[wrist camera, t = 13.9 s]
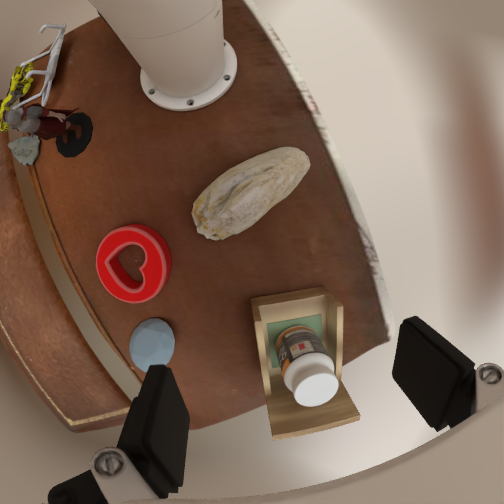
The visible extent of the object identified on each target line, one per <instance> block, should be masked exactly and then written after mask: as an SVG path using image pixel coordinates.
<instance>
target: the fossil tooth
mask: <svg viewBox="0 0 504 504" xmlns="http://www.w3.org/2000/svg"><path fill="white" fill-rule="evenodd" d="M309 168H310V161H309V158H308V156H307V155H306V154H305V153H304V152H303V151H300V149H297V148H293V147H282V148H277V149H274V150H271V151H268V152H266V153H263V154H260V155H257V156H255V157H253V158H251V159H248V160H246V161H245V162H243V163H241V164H238V165H237V166H235V167H233V168H231V169H229V170H227V171H226V172H225V173H224V174H222V175H221V176H219V177H218V178H217V179H216V180H215V181H214V182H212V183H211V184H210V185H209V186H208V187H207V188H206V189H205V190H204V191H203V192H202V193H201V194H200V195H199V197H198V198H197V199H196V200H195V202H194V203H193V205H194V207H193V210H192V213H191V214H192V217H193V219H194V223H195V225H196V226H197V233H200V234H203V235H205V237H206V238H207V239H208V238H211V239H213V240H218V239H222V240H223V239H225V238H227V237H229V236H230V235H232V234H238V233H240V232H242V231H244V230H245V229H247V228H249V227H250V226H252V225H253V224H254V223H255V222H256V221H258V220H259V219H260V218H261V217H262V216H263V215H264V214H265V213H266V212H268V210H269V209H271V208H272V207H273V206H274V205H275V204H277V203H278V202H280V201H281V200H283V199H284V198H286V197H287V196H288V195H289V194H290V193H291V192H292V191H293V189H294V188H296V187H297V185H298V184H299V182H300V181H301V180H302V178H303V177H304V175H305V174H306V173H307V171H308V169H309Z"/></svg>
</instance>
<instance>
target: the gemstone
mask: <svg viewBox="0 0 504 504" xmlns="http://www.w3.org/2000/svg"><path fill="white" fill-rule="evenodd" d="M174 344H175V339H174V335H173V332H172V329H171V328H170V327H169V325H168V324H167V323H166V322H164V321H162V320H160V319H158V318H150V319H147V320H145V321H143V322H141V323H140V324H139V325H138V326H137V328H136V329H135V330H134V332H133V334H132V336H131V339H130V347H129V350H130V355H131V359H132V360H133V362H134V364H135V365H136V366H137V367H138V368H140V369H141V370H142V371H145V372H147V371H148V368H149V366H150V365H157V364H165V365H166V364H167V363H168V362H169V361H170V359H171V357H172V354H173V352H174Z"/></svg>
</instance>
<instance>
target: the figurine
mask: <svg viewBox="0 0 504 504" xmlns="http://www.w3.org/2000/svg"><path fill="white" fill-rule="evenodd" d="M77 109H79V108H76V109H74V110H57V109H46V108H44V107H43V106H42V105H40V104H39V103H36V104H32V105H29V106H27V107H25V108H18V109H17V110H9V111H4V113H3V120H4V121H5V122H6V123H7V124H8V125H11V126H12V129H17V130H18V131H21V132H24V133H25V134H26V136H27V137H28V138H29V136H31V134H32V136H31V140H32V139H33V137H34V139H36V137H35V136H34V134H35V135H37V136H38V137H40V138H42V139H44V140H48V139H51V138H54V137H57V138H56V145H57V149H58V152H60V153H61V154H62V155H63V156H64V157H75V156H77V155H78V154H80V153H81V152H83V151H84V150H85V148H86V146H87V145H88V143H89V142H90V140H91V135H92V130H93V126H92V123H91V119H90V117H88V116H87V115H85V114H84V113H73V112H74V111H75V110H77ZM71 113H73V114H72V115H70V114H71ZM68 115H70V116H69V117H68V118H66V116H68ZM30 132H31V134H30Z"/></svg>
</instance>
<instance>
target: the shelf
mask: <svg viewBox="0 0 504 504" xmlns="http://www.w3.org/2000/svg"><path fill="white" fill-rule="evenodd" d="M250 300H251V307H252V314H253V321H254V327H255V334H256V341H257V348H258V354H259V361H260V368H261V374H262V380H263V386H264V392H265V397H266V403H267V408H268V414H269V420H270V426H271V432H272V437H273V440H279V439H285V438H291V437H296V436H301V435H306V434H310V433H315V432H318V431H322V430H327V429H331V428H334V427H338V426H342V425H345V424H348V423H352V422H355V421H358V420H360V414H359V412H358V410H357V408H356V406H355V404H354V403H353V401H352V399H351V398H350V396H349V394H348V392H347V390H346V388H345V387H344V385H343V383H342V381H341V371H342V350H343V305H342V304H341V303H340V302H339V301H338V300H337V299H336V298H335V297H334V296H333V295H332V294H331V293H330V292H329V291H328V290H327V289H326V288H325V287H324V286H322V287H316V288H311V289H305V290H299V291H293V292H287V293H281V294H274V295H268V296H261V297H254V298H250ZM298 325H301V326H307V327H309V328H311V329H312V330H313V331H314V332H315V333H316V334H317V336H318V337H319V339H320V341H321V342H322V344H323V346H324V348H325V349H326V351H327V353H328V354H329V356H330V357H331V359H332V361H333V364H334V374H335V376H336V378H337V380H338V384H339V385H338V390H337V392H336V394H335V395H334V396H333V397H332V398H331V399H330V400H329V401H327V402H325V403H323V404H321V405H318V406H312V407H308V406H303V405H301V404H299V403H298V402H297V401H296V400H295V398H294V395H293V392H292V391H290V390H289V389H288V388H287V386H286V385H285V383H284V379H283V376H282V372H281V369H280V365H279V362H278V358H277V355H276V351H275V344H276V340H277V338H278V337H279V335H280V334H281V333H282V332H283V331H285V330H286V329H288V328H290V327H293V326H298Z"/></svg>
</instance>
